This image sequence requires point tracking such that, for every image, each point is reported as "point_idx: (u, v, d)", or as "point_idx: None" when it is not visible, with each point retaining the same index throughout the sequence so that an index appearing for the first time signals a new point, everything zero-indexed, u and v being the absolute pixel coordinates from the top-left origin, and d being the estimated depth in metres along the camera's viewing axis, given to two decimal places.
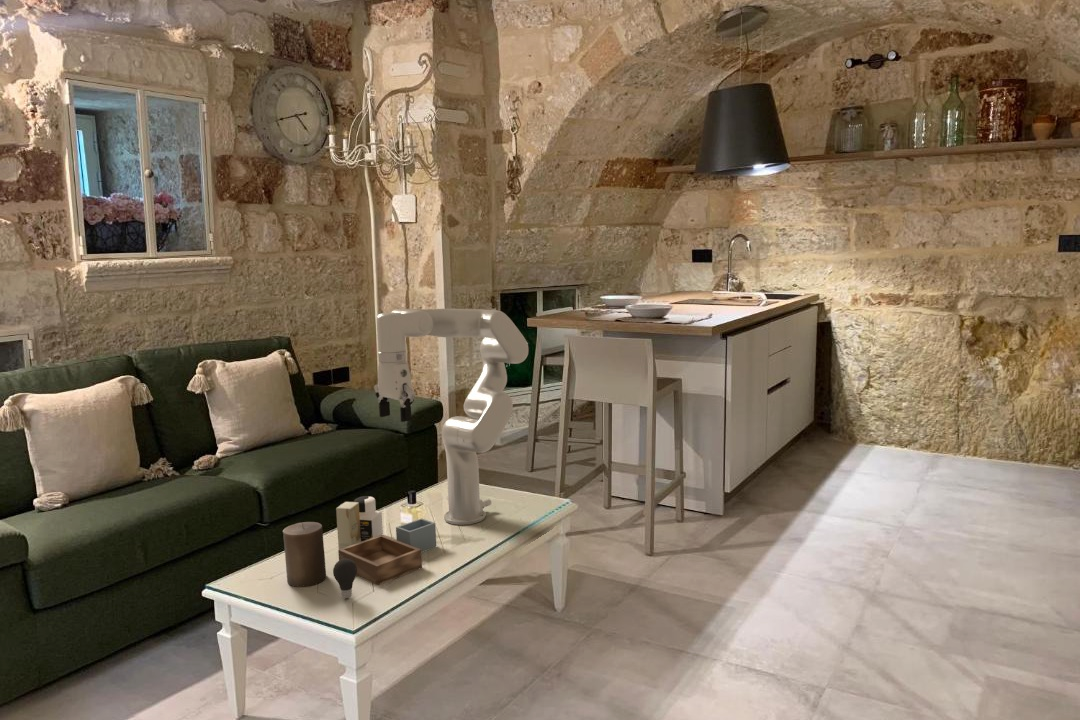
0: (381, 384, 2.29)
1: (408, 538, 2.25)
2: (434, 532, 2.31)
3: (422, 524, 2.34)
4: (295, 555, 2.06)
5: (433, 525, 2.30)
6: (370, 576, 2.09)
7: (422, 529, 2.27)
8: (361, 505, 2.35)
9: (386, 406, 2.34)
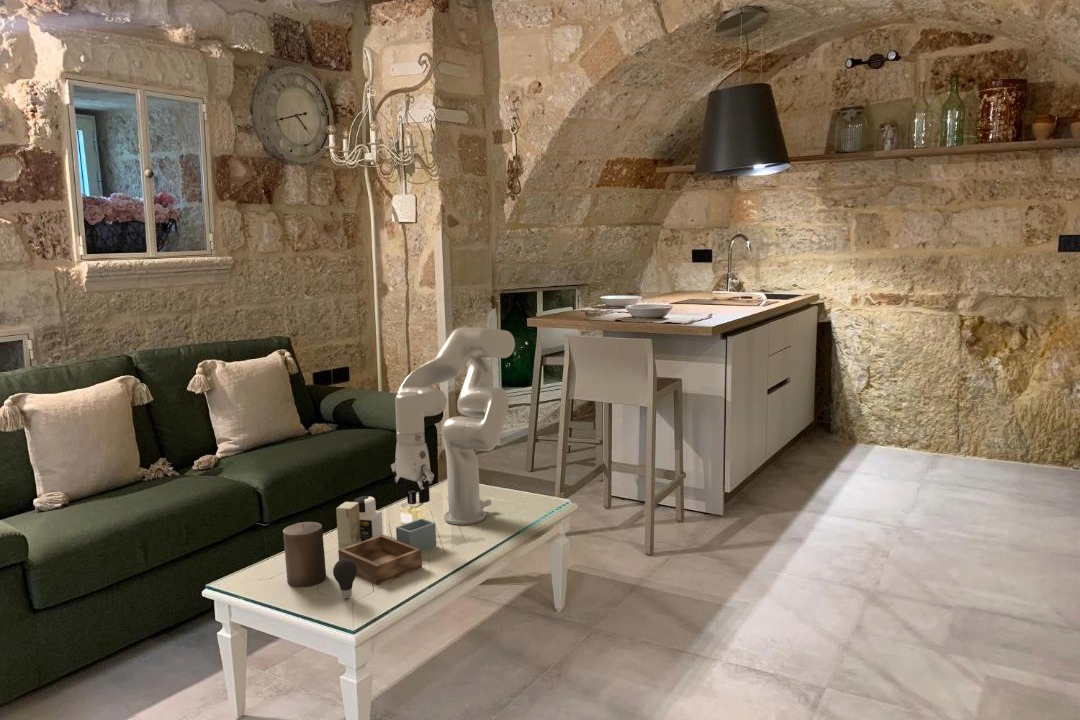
0: (399, 464, 2.26)
1: (408, 538, 2.25)
2: (434, 532, 2.31)
3: (422, 524, 2.34)
4: (295, 555, 2.06)
5: (433, 525, 2.30)
6: (370, 576, 2.09)
7: (422, 529, 2.27)
8: (361, 505, 2.35)
9: (403, 485, 2.31)
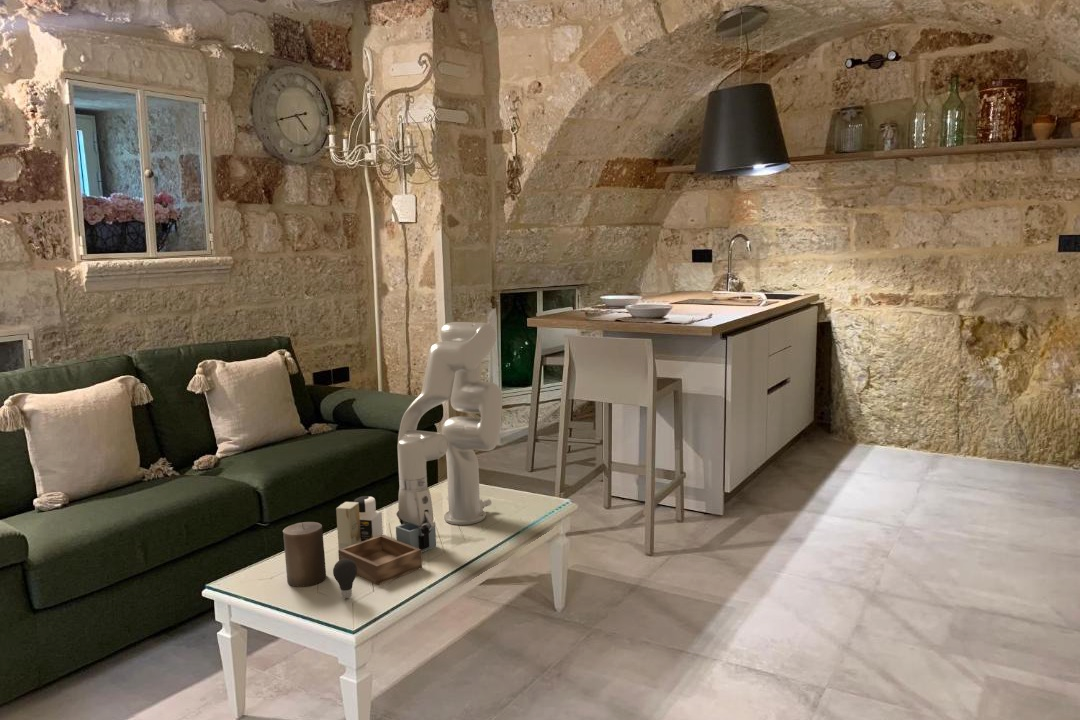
0: (402, 508, 2.29)
1: (408, 538, 2.25)
2: (434, 532, 2.31)
3: None
4: (295, 555, 2.06)
5: None
6: (370, 576, 2.09)
7: None
8: (361, 505, 2.35)
9: None
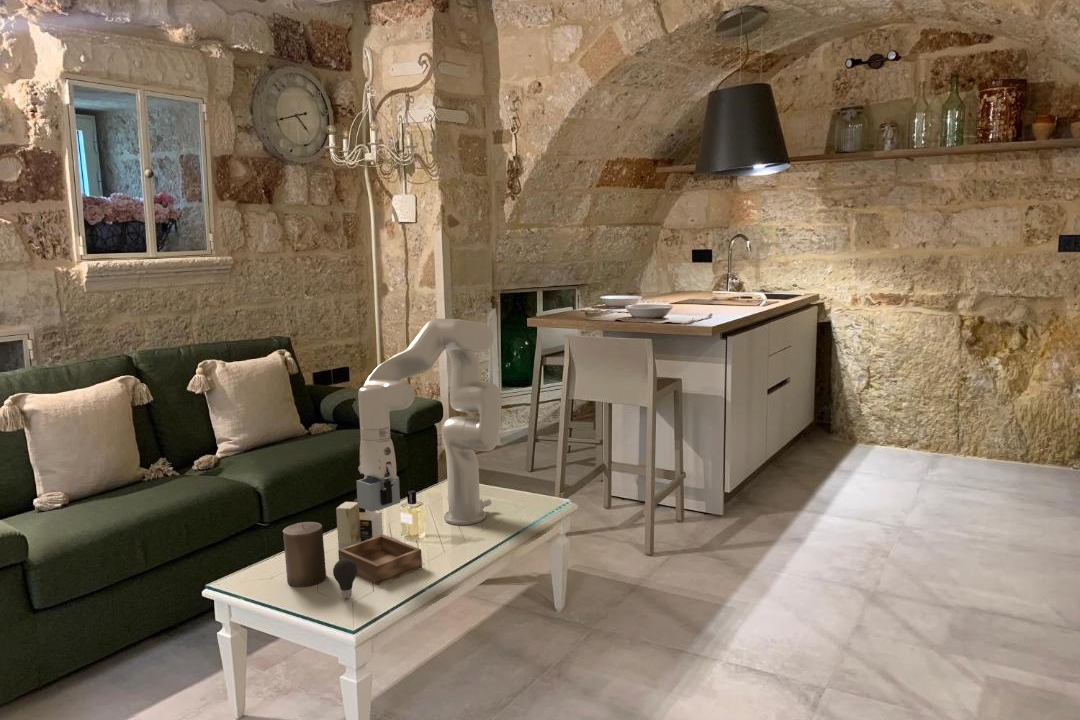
0: (363, 461, 2.14)
1: (369, 491, 2.11)
2: (397, 487, 2.16)
3: None
4: (295, 555, 2.06)
5: None
6: (370, 576, 2.09)
7: None
8: None
9: None
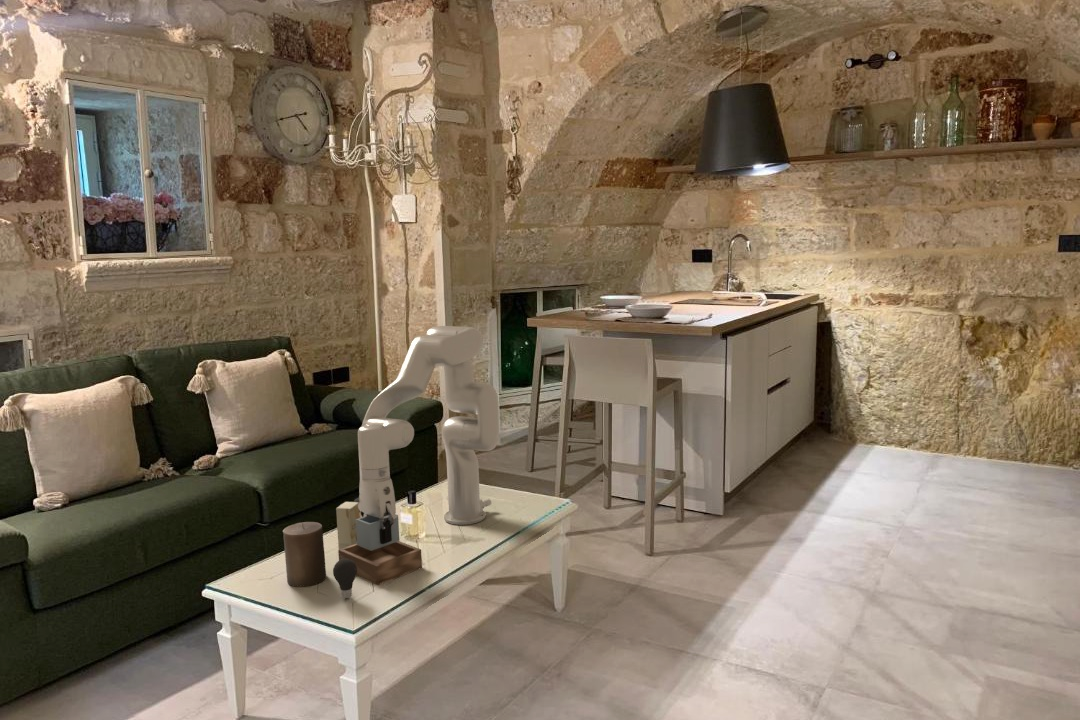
0: (363, 500, 2.15)
1: (368, 531, 2.11)
2: (397, 525, 2.17)
3: None
4: (295, 555, 2.06)
5: None
6: (370, 576, 2.09)
7: None
8: None
9: None
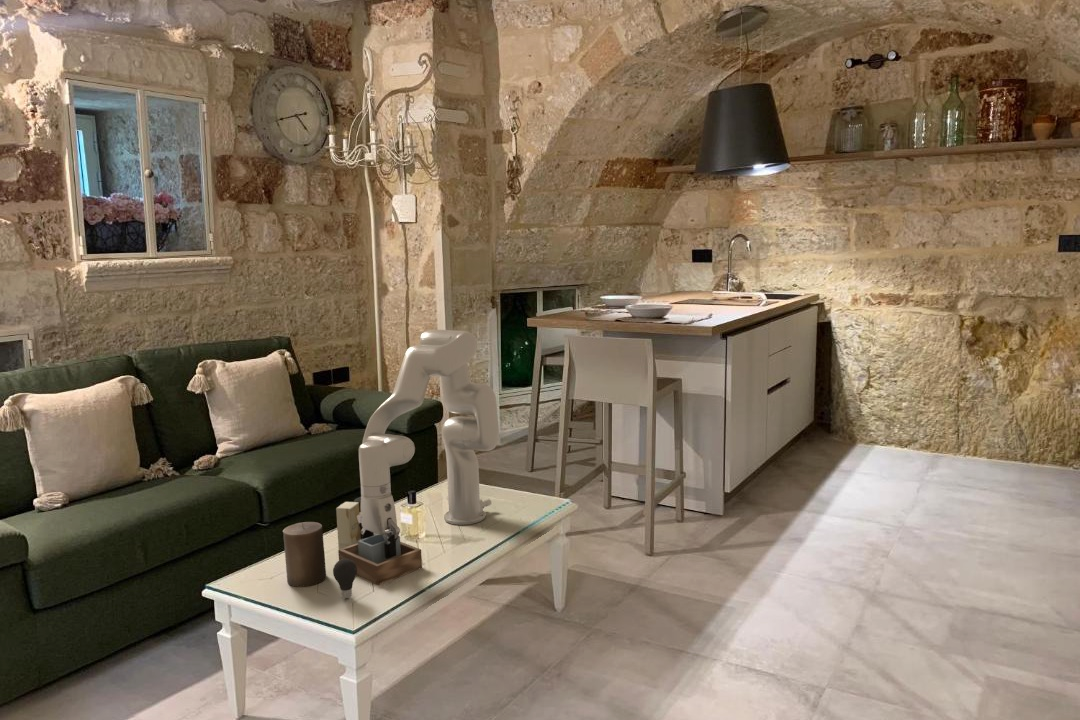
0: (364, 516, 2.16)
1: (370, 553, 2.12)
2: (399, 546, 2.18)
3: None
4: (295, 555, 2.06)
5: None
6: (370, 576, 2.09)
7: (385, 543, 2.15)
8: None
9: None
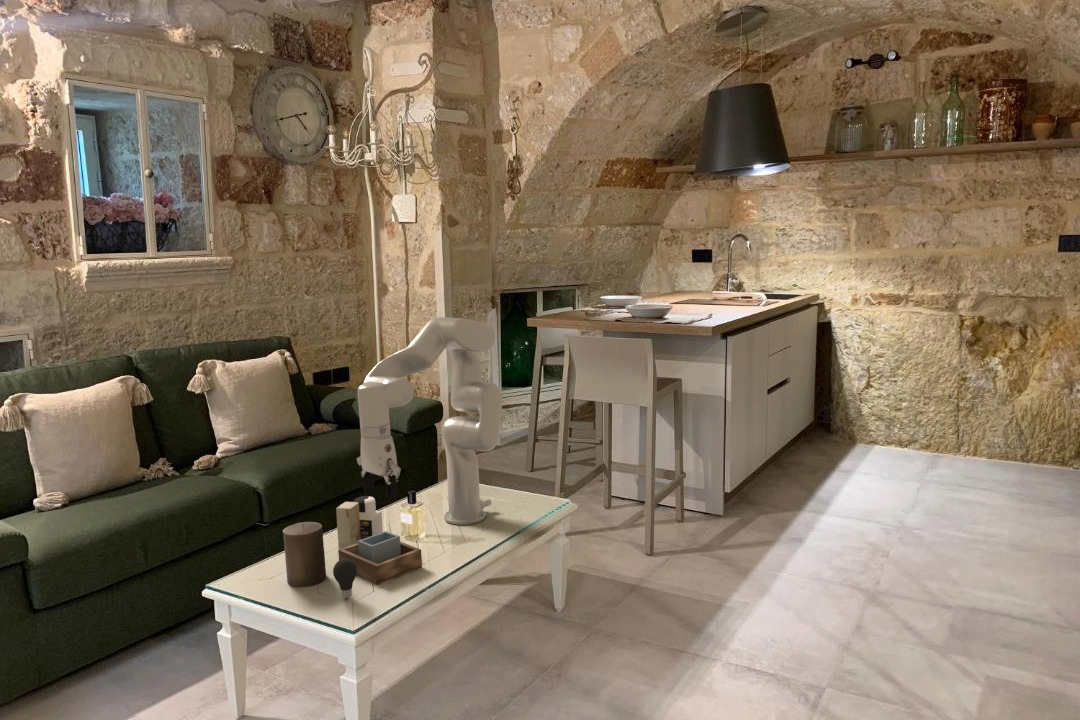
0: (364, 458, 2.16)
1: (370, 553, 2.12)
2: (399, 546, 2.18)
3: (386, 537, 2.21)
4: (295, 555, 2.06)
5: (397, 538, 2.18)
6: (370, 576, 2.09)
7: (385, 543, 2.15)
8: (361, 505, 2.35)
9: (370, 480, 2.20)
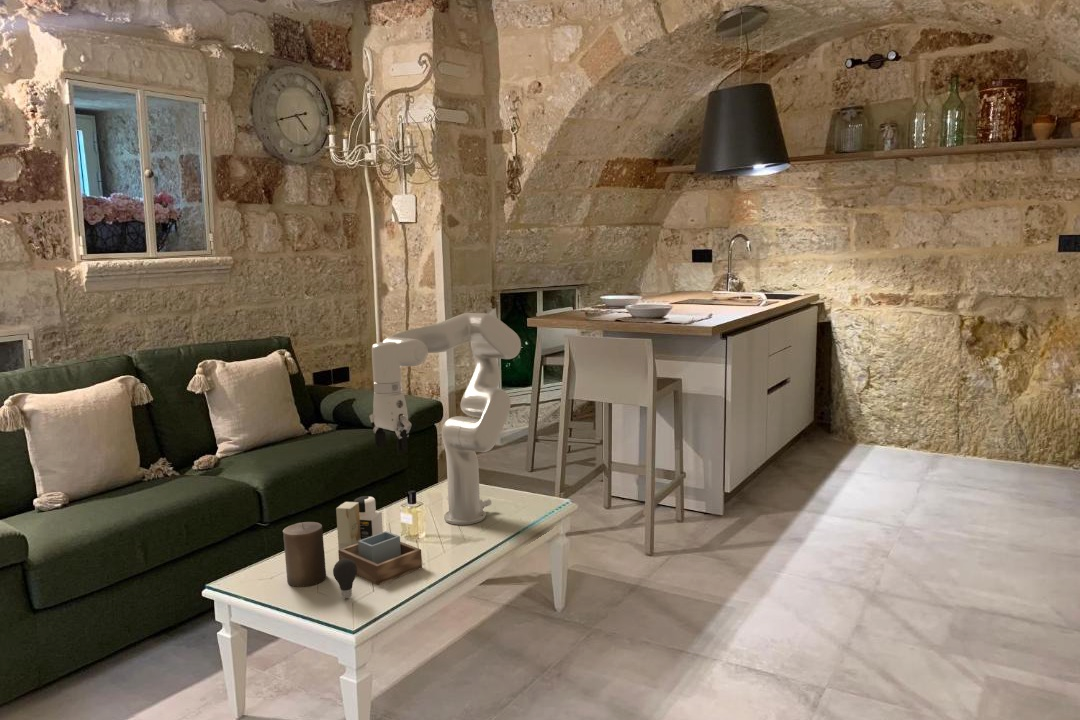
0: (377, 414, 2.26)
1: (370, 553, 2.12)
2: (399, 546, 2.18)
3: (386, 537, 2.21)
4: (295, 555, 2.06)
5: (397, 538, 2.18)
6: (370, 576, 2.09)
7: (385, 543, 2.15)
8: (361, 505, 2.35)
9: (382, 436, 2.30)
